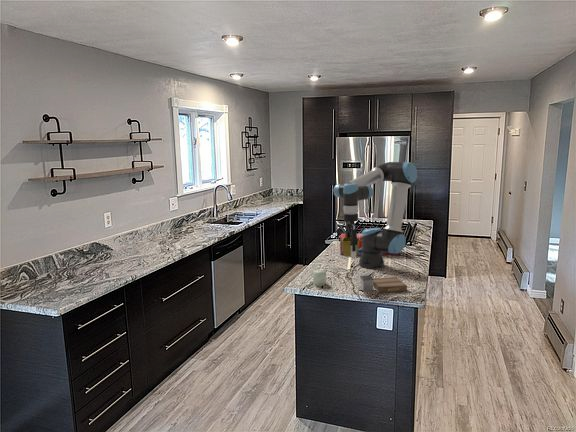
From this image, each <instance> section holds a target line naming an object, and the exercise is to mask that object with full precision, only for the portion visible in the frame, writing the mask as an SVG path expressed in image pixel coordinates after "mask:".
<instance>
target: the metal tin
mask: <svg viewBox="0 0 576 432" xmlns="http://www.w3.org/2000/svg"><path fill="white" fill-rule="evenodd" d="M374 279H375V278H374V277H373V276H372V275H360V290H361V291H362V292H365V293H366V292H367V291H368V292H374V286H373V280H374ZM368 292H367V293H368Z"/></svg>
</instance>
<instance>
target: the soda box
mask: <svg viewBox="0 0 576 432" xmlns="http://www.w3.org/2000/svg"><path fill="white" fill-rule="evenodd" d="M339 237H340V239H339V251H340V253H339V254H340V255H341V256H345V255H344V253H343V249H342V240H343V238H345V233H341V234H340V236H339ZM357 238H360V242H359V249H358V252H357V254H356V256H361V255H362V233H357ZM401 252H402V251H401ZM401 252H400V253H397V254H395V253H389V252H384V251H381V254H382V257H383V256H390V257H391V256H394V257H396V256H397V257H398V256H399V257H400V256H401V254H402V253H401Z"/></svg>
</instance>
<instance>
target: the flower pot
mask: <svg viewBox="0 0 576 432" xmlns="http://www.w3.org/2000/svg"><path fill="white" fill-rule="evenodd" d="M359 242H360V238H357V245H356V254H357V252H358V249H359ZM350 244H351V238H343V240H342V249H343V253H344V255H343V256H345V257H348V258H352V257H351V245H350Z"/></svg>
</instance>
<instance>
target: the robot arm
mask: <svg viewBox="0 0 576 432" xmlns="http://www.w3.org/2000/svg"><path fill="white" fill-rule="evenodd" d="M417 179H418V170H417V168H416V165H415V164H414V163H413V162H408V161H389V162H384V163H382V164H379V165H377V166H374V167H373V168H372V169H370V171H368V172H366V173H364V174H362V175H359V176H357V177H356V178H354V179H352V180H350V181H347V182H346V183H338V184H336V185H334V187H333V189H332V190H333V195H334V196H335V197H336V198H340V199H343V207H342V210H343V213H344V214H343V221H344V222H345V233H344V234H345V238H351V244H350V245H351V257H350V258H357V255H356V245H357V234H358V233H357V232H358V231H357V225H356V224H355V222H358V220H359V201H366V200H369V199H371V198H372V197H373V196H374V189H373V187H372V185H374V184H379V183H383V182H390V184H391V186H392V191H391V198H390V202H389V203H390V204H389V208H388V214H387V218H386V219H387V220H386V226H385V227H383V228H380V227H371V228H364V229H363V230H362V231H361V232H362V233H361V234H362V255H360V258H359V261H358V266H359V267H361V268H364V269H371V270H372V269H382V268H384V267H385V261H384V258H383V256H382V254H381V251H384V252H389V253H395V254H397V253H400V252H402V251H403V250H404V248H405V245H406V241H407V240H406V236H405V235H404V231H403V229H402V227H403V226H402V225H403V219H404V213H405V207H406V202H407V197H408V189H410V188H411V187H412V183H414V182H416V180H417Z"/></svg>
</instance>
